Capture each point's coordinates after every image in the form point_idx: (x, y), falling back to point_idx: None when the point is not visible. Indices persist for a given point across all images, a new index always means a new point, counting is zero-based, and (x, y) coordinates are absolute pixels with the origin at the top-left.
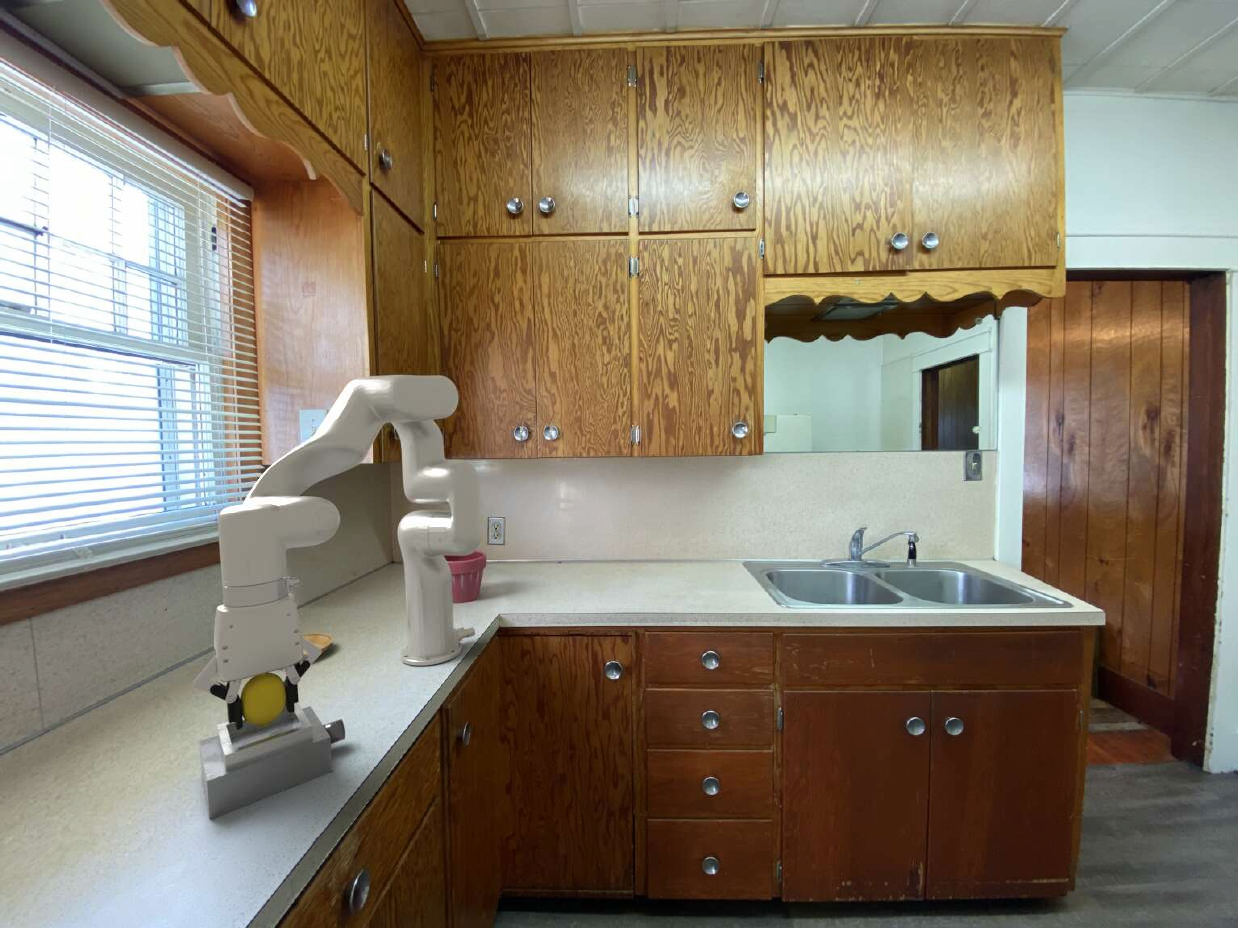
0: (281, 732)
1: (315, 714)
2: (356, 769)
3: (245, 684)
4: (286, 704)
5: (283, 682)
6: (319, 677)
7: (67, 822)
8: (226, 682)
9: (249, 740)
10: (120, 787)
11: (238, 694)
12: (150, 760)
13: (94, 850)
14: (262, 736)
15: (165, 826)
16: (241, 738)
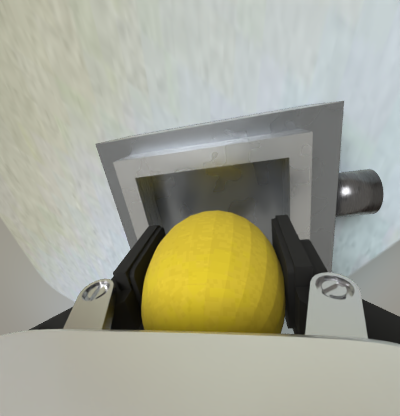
0: (251, 212)
1: (337, 168)
2: (338, 265)
3: (144, 322)
4: (274, 248)
5: (283, 323)
6: None
7: (3, 158)
8: (65, 327)
9: (191, 206)
10: (21, 95)
11: (134, 278)
12: (21, 3)
13: (65, 237)
14: (215, 204)
15: (120, 239)
16: (176, 186)
